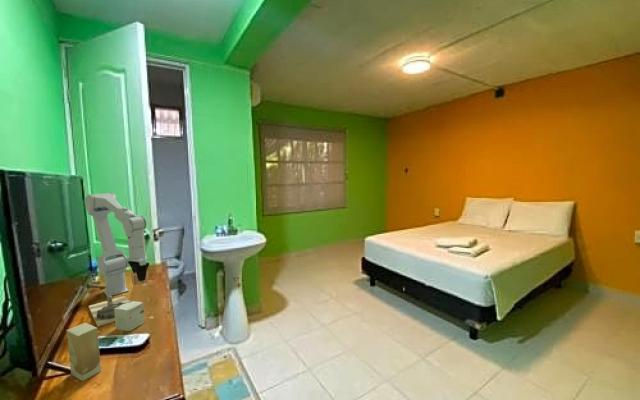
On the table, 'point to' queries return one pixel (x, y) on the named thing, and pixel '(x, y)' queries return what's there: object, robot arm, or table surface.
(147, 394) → the table surface
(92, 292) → the table surface
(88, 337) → the skincare box
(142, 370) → the table surface
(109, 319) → the gear board
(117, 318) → the skincare box
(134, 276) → the loose gear
